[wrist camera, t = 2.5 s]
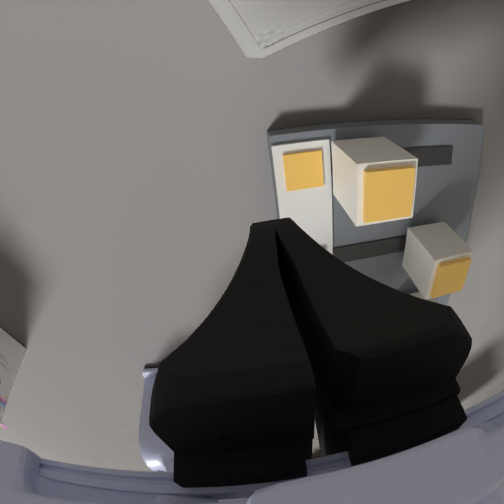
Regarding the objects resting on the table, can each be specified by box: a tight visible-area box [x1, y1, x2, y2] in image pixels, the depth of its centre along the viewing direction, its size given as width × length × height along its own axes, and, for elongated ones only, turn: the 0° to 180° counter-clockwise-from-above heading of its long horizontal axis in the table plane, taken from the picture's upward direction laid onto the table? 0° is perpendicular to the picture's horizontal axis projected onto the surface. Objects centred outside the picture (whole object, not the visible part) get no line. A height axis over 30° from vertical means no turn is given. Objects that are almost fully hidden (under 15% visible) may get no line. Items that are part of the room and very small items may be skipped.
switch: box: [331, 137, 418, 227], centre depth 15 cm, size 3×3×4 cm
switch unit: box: [267, 119, 484, 305], centre depth 20 cm, size 14×16×2 cm
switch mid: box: [402, 222, 473, 300], centre depth 18 cm, size 3×3×4 cm
